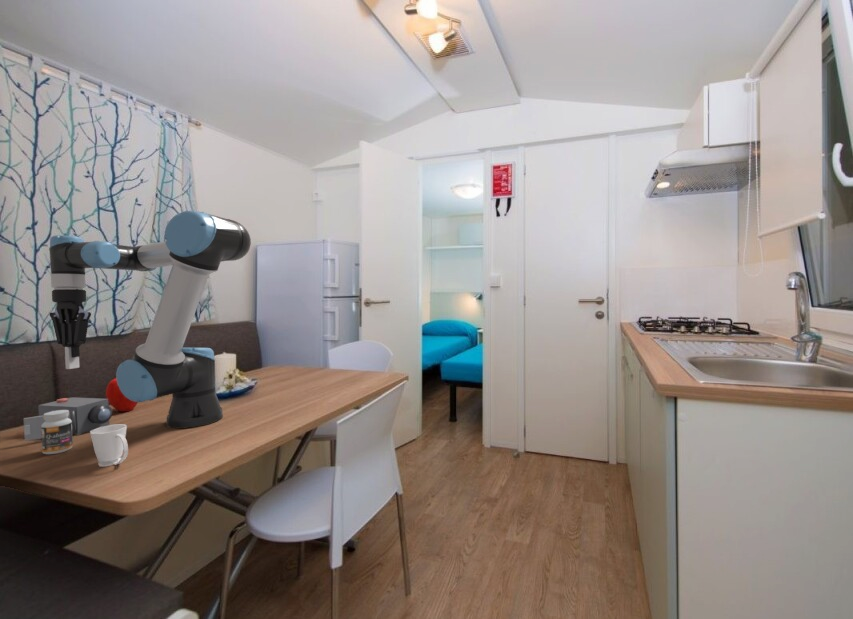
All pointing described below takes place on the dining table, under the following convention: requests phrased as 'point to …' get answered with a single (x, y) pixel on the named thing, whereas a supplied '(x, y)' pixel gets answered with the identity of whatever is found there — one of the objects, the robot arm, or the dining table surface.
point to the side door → (34, 426)
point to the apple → (118, 397)
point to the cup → (110, 444)
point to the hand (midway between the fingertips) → (72, 368)
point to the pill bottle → (56, 432)
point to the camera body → (82, 412)
